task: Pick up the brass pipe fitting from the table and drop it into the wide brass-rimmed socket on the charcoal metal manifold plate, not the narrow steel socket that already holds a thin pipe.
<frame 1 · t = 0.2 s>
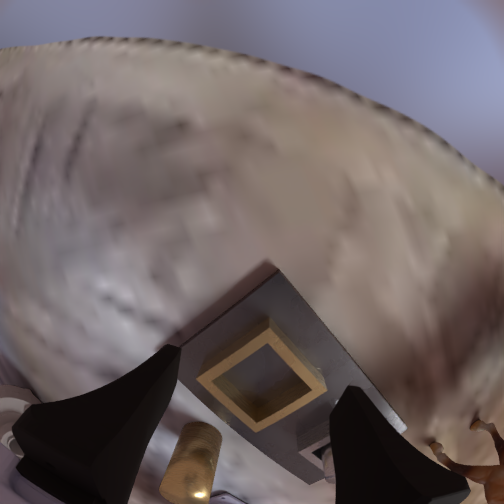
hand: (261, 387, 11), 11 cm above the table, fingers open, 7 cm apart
brass fitting: (201, 436, 24), on the table
valve: (8, 392, 26), on the table
manifold: (299, 402, 23), on the table
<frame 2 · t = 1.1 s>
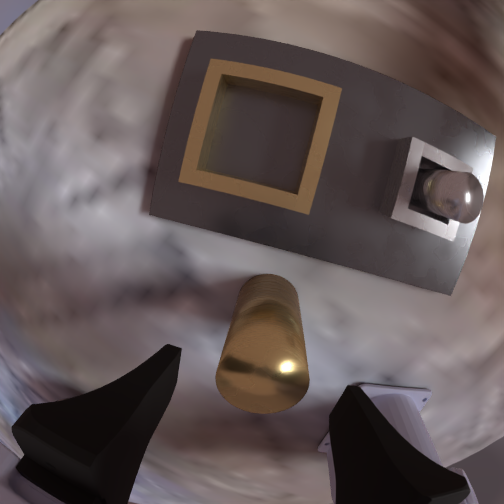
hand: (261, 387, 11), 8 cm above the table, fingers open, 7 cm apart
brass fitting: (268, 302, 19), on the table
manifold: (343, 160, 16), on the table
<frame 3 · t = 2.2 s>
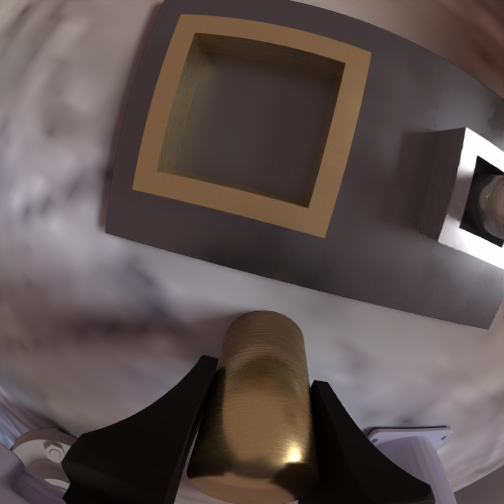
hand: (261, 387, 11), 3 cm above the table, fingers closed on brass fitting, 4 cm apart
brass fitting: (264, 345, 14), on the table, touching gripper
valve: (56, 449, 22), on the table
manifold: (368, 157, 11), on the table
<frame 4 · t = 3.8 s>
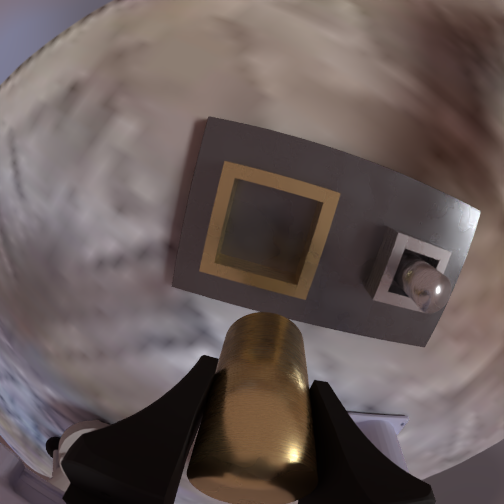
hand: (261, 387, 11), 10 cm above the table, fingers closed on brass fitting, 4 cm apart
brass fitting: (264, 346, 14), point 7 cm above the table, touching gripper
valve: (91, 438, 30), on the table
manifold: (338, 243, 20), on the table
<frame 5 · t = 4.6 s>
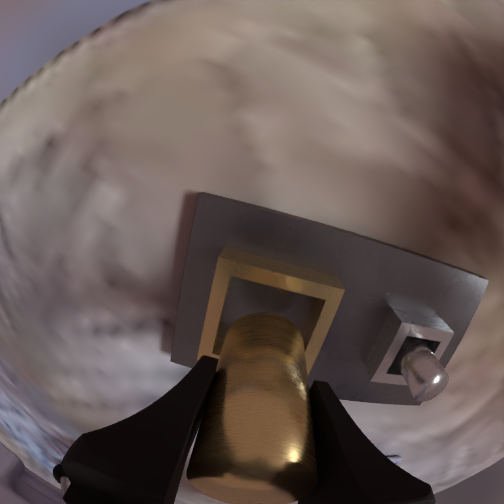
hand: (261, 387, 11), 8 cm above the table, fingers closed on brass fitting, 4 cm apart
brass fitting: (263, 346, 14), point 5 cm above the table, touching gripper
manifold: (339, 322, 19), on the table
when the fingers open (6 cm above the table, at t = 5.4 s): brass fitting drops 1 cm, resting on manifold.
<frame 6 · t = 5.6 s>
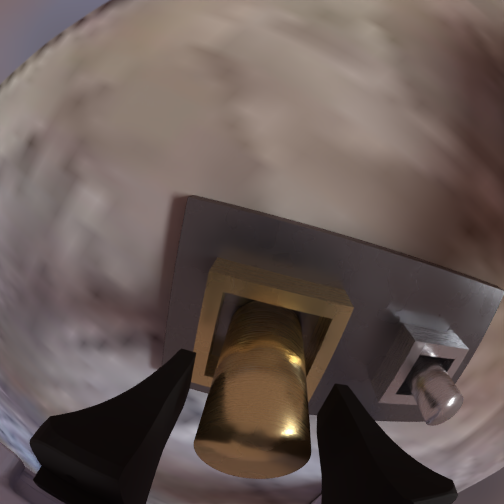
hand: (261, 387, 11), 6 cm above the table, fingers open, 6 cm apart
brass fitting: (265, 332, 16), point 1 cm above the table, touching manifold
manifold: (345, 338, 17), on the table
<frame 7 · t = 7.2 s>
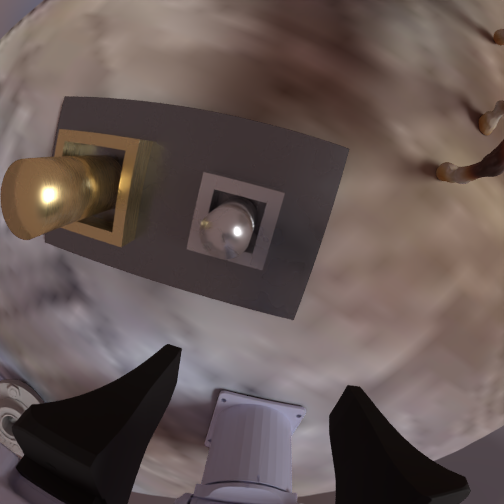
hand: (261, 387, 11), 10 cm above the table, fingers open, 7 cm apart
horse figurine: (500, 82, 14), on the table
brass fitting: (101, 183, 18), point 1 cm above the table, touching manifold
valve: (23, 402, 30), on the table
manifold: (169, 195, 19), on the table
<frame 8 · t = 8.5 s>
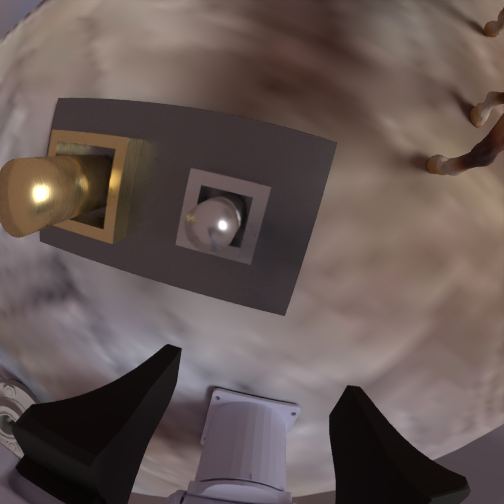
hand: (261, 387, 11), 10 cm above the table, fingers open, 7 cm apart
horse figurine: (492, 74, 14), on the table
brass fitting: (93, 182, 18), point 1 cm above the table, touching manifold
valve: (20, 403, 31), on the table
manifold: (159, 192, 19), on the table
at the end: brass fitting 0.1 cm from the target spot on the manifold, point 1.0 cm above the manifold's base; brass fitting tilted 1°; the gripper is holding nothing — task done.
